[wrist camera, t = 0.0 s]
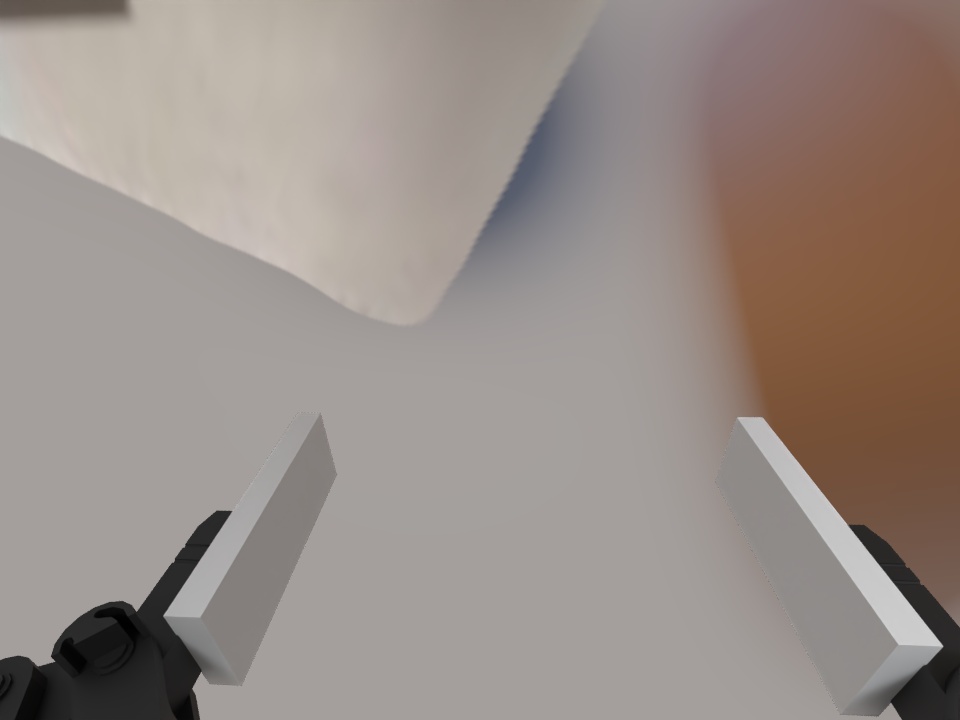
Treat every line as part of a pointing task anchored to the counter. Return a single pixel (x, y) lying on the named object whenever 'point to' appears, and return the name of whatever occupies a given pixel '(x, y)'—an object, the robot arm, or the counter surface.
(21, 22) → the counter surface
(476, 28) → the counter surface
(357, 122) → the counter surface
